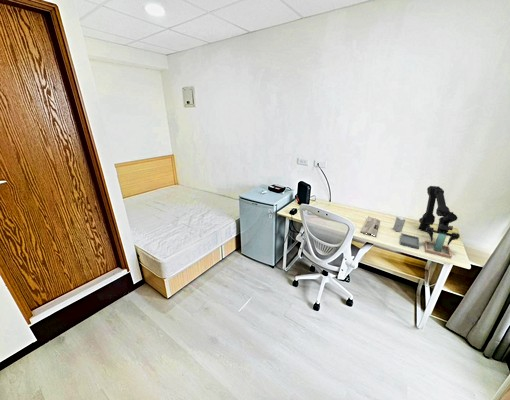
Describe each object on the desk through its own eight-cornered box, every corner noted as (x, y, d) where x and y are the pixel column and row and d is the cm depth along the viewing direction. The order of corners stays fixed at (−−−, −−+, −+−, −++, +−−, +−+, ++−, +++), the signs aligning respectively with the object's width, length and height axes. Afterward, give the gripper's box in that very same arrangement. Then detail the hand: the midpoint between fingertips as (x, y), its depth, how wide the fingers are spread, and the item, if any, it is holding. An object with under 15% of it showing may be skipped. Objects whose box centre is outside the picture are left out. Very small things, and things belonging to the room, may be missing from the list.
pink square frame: (424, 242, 171) (425, 240, 170) (448, 248, 163) (448, 246, 162) (425, 251, 160) (426, 249, 159) (450, 258, 152) (451, 256, 151)
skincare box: (392, 228, 193) (396, 216, 188) (397, 228, 193) (401, 216, 188) (397, 232, 187) (400, 219, 183) (402, 232, 187) (405, 219, 183)
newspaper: (376, 237, 179) (377, 234, 178) (359, 233, 185) (360, 230, 184) (380, 221, 206) (381, 218, 205) (366, 218, 213) (366, 215, 211)
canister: (431, 249, 162) (437, 233, 157) (434, 247, 164) (440, 231, 159) (438, 252, 158) (445, 236, 153) (441, 251, 160) (448, 234, 155)
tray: (400, 235, 181) (401, 233, 180) (418, 240, 175) (418, 237, 174) (399, 244, 169) (400, 241, 168) (418, 249, 162) (419, 246, 162)
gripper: (430, 217, 161) (425, 236, 157) (463, 224, 151) (460, 244, 146) (427, 222, 170) (423, 240, 166) (458, 229, 159) (455, 249, 155)
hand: (439, 243), depth 158 cm, fingers open, 9 cm apart
